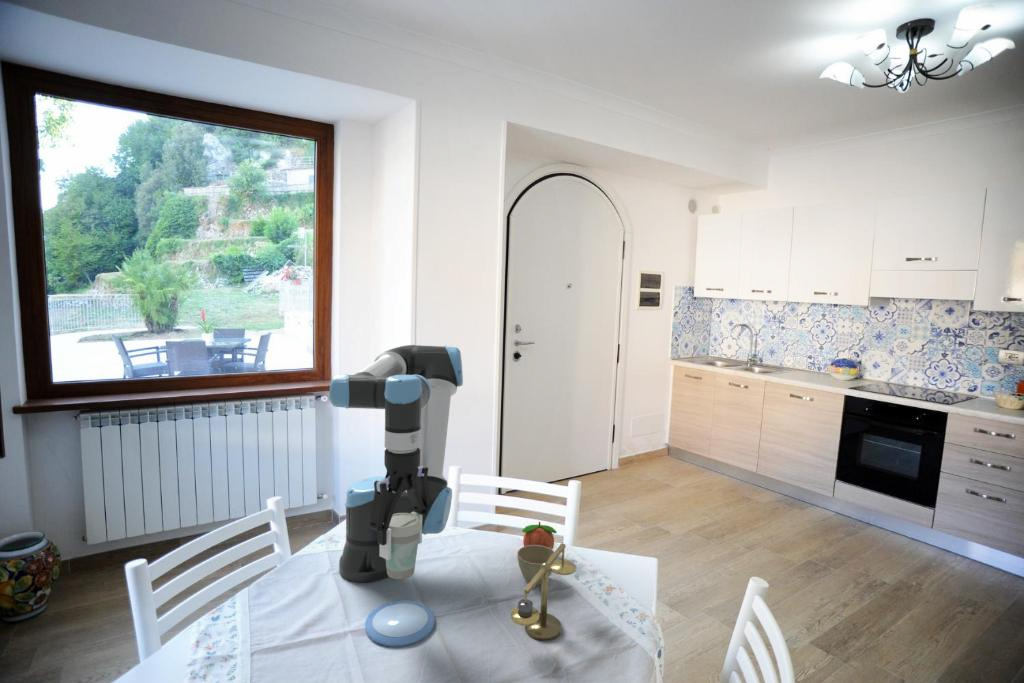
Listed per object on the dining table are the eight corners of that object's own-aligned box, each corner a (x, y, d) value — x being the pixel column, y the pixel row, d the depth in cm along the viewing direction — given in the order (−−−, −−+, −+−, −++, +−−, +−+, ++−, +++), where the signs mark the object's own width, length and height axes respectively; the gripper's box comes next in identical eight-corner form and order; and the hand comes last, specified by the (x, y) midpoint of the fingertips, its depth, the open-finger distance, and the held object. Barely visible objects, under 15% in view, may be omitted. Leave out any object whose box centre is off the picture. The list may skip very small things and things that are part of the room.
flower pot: (552, 593, 138) (553, 566, 137) (512, 587, 140) (513, 560, 139) (557, 573, 147) (558, 547, 147) (520, 567, 149) (521, 542, 149)
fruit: (523, 547, 161) (524, 514, 160) (556, 550, 159) (558, 517, 158) (519, 562, 152) (521, 527, 151) (554, 565, 151) (556, 530, 150)
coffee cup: (386, 586, 116) (387, 531, 115) (376, 567, 124) (377, 515, 122) (425, 577, 120) (427, 524, 119) (413, 559, 128) (414, 509, 126)
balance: (500, 647, 117) (502, 570, 115) (551, 600, 135) (555, 533, 133) (532, 663, 113) (535, 584, 111) (581, 612, 130) (585, 543, 128)
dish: (350, 628, 122) (350, 622, 121) (401, 597, 134) (401, 592, 134) (399, 656, 113) (399, 651, 113) (448, 620, 125) (448, 615, 125)
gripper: (376, 464, 108) (375, 575, 111) (449, 440, 125) (446, 536, 128) (350, 456, 112) (350, 563, 115) (424, 434, 130) (422, 527, 132)
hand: (401, 549), depth 121 cm, fingers closed on coffee cup, 8 cm apart
